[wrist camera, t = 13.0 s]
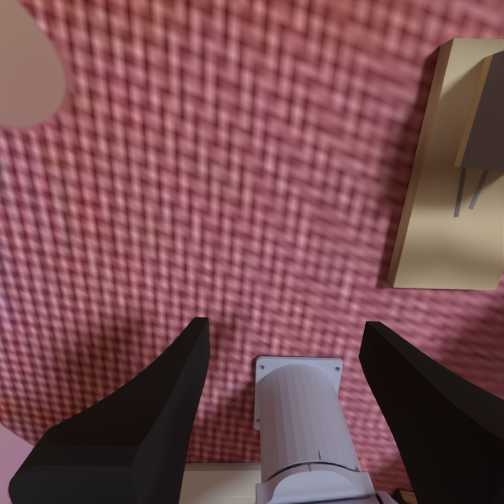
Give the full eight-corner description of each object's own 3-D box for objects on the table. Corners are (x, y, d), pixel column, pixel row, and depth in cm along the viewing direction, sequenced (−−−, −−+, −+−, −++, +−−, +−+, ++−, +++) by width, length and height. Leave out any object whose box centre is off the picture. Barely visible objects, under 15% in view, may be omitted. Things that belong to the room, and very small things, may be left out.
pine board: (483, 282, 22) (495, 290, 21) (386, 280, 22) (393, 287, 21) (572, 48, 16) (596, 41, 15) (440, 45, 16) (454, 37, 15)
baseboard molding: (320, 514, 36) (327, 455, 32) (325, 544, 33) (334, 484, 29) (88, 515, 36) (63, 457, 32) (74, 545, 34) (45, 485, 29)
